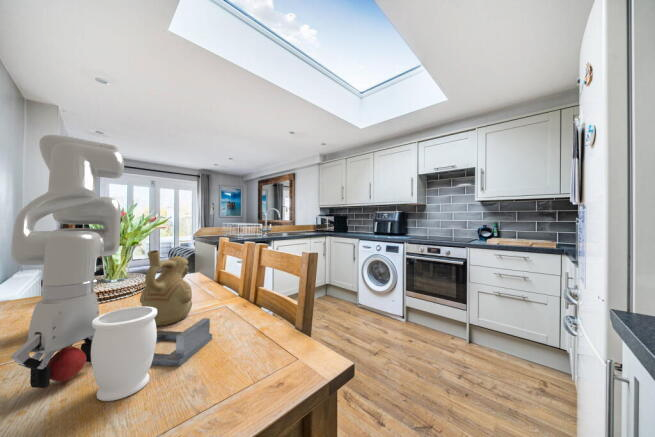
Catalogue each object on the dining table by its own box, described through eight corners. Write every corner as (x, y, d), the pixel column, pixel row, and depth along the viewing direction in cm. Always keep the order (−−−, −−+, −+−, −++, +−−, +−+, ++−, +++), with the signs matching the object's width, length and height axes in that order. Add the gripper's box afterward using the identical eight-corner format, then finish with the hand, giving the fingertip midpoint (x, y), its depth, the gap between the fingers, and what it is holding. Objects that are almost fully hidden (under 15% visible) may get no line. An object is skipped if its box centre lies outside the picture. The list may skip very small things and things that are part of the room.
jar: (117, 372, 55) (120, 305, 55) (165, 370, 55) (167, 305, 56) (72, 408, 44) (75, 325, 44) (132, 405, 45) (135, 324, 45)
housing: (94, 361, 59) (95, 334, 59) (142, 334, 73) (143, 313, 73) (179, 366, 57) (180, 339, 57) (212, 338, 71) (212, 316, 71)
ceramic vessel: (203, 309, 94) (204, 245, 95) (172, 332, 75) (174, 251, 75) (159, 309, 94) (161, 245, 94) (116, 332, 74) (119, 251, 75)
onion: (58, 393, 48) (59, 352, 48) (37, 388, 49) (38, 349, 49) (92, 375, 53) (93, 338, 54) (72, 371, 55) (73, 336, 55)
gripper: (95, 280, 61) (93, 350, 60) (-6, 303, 43) (-10, 402, 43) (123, 281, 60) (120, 352, 60) (32, 304, 43) (27, 405, 42)
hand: (66, 372), depth 51 cm, fingers open, 8 cm apart
